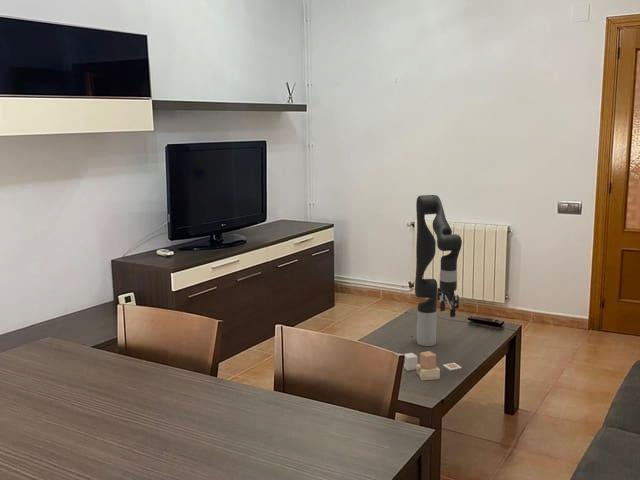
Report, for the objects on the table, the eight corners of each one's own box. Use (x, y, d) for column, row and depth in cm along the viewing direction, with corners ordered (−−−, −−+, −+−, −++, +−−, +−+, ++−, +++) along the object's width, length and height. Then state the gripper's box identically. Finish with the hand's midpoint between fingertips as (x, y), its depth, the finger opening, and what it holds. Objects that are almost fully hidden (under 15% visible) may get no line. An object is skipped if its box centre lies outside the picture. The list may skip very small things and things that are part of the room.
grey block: (402, 366, 283) (402, 354, 282) (411, 365, 285) (412, 352, 284) (407, 370, 279) (407, 358, 278) (417, 368, 281) (417, 356, 279)
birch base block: (416, 373, 276) (416, 364, 275) (433, 372, 277) (434, 362, 276) (421, 380, 268) (421, 371, 268) (439, 379, 269) (439, 369, 269)
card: (443, 365, 284) (443, 364, 283) (454, 363, 286) (454, 362, 286) (450, 370, 278) (450, 369, 278) (461, 368, 280) (461, 366, 280)
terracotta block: (419, 365, 273) (419, 352, 272) (429, 363, 275) (429, 350, 274) (426, 369, 269) (426, 356, 268) (435, 367, 271) (436, 354, 270)
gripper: (464, 282, 269) (463, 317, 272) (447, 274, 282) (446, 308, 285) (449, 284, 266) (448, 320, 270) (432, 275, 279) (431, 310, 283)
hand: (447, 313), depth 277 cm, fingers open, 8 cm apart
